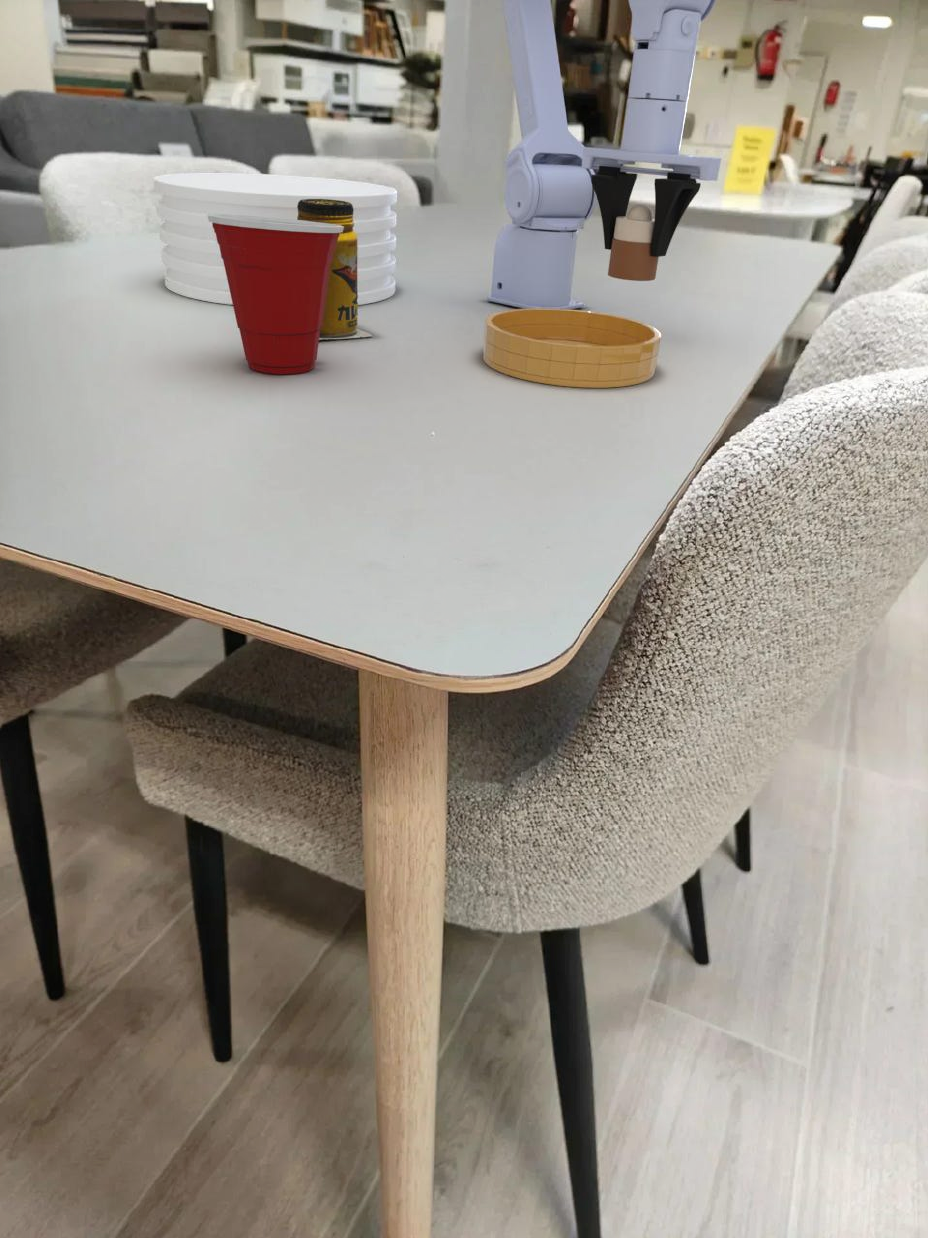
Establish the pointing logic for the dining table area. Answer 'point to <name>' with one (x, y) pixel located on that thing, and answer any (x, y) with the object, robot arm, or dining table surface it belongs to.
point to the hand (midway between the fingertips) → (635, 252)
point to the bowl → (570, 347)
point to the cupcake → (633, 246)
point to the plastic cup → (277, 286)
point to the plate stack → (265, 195)
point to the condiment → (338, 268)
